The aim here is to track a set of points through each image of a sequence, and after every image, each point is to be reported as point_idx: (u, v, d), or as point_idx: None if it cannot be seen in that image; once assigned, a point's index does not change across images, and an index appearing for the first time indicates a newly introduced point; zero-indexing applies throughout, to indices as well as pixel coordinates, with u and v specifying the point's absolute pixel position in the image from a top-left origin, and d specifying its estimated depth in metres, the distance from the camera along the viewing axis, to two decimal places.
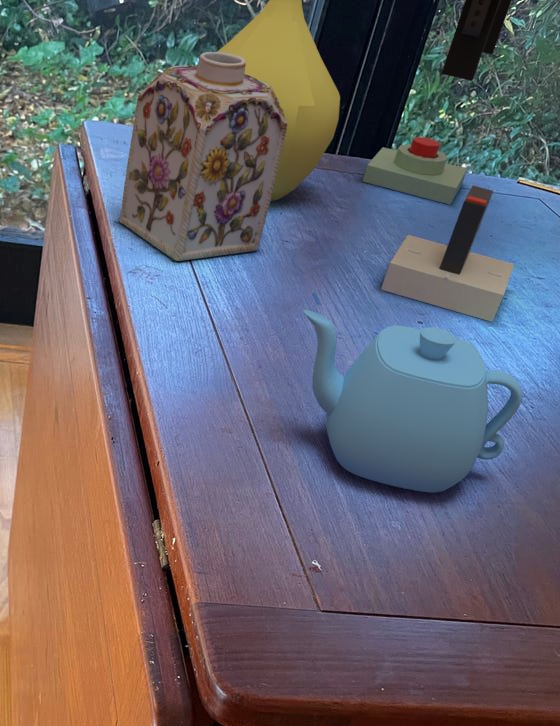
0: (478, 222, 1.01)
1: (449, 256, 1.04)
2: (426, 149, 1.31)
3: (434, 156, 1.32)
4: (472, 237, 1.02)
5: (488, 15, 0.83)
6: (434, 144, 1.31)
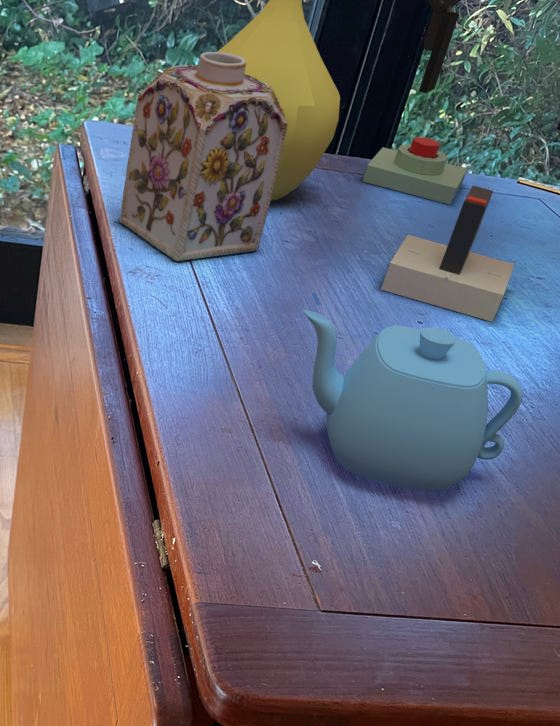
0: (478, 222, 1.01)
1: (449, 256, 1.04)
2: (426, 149, 1.31)
3: (434, 156, 1.32)
4: (472, 237, 1.02)
5: None
6: (434, 144, 1.31)
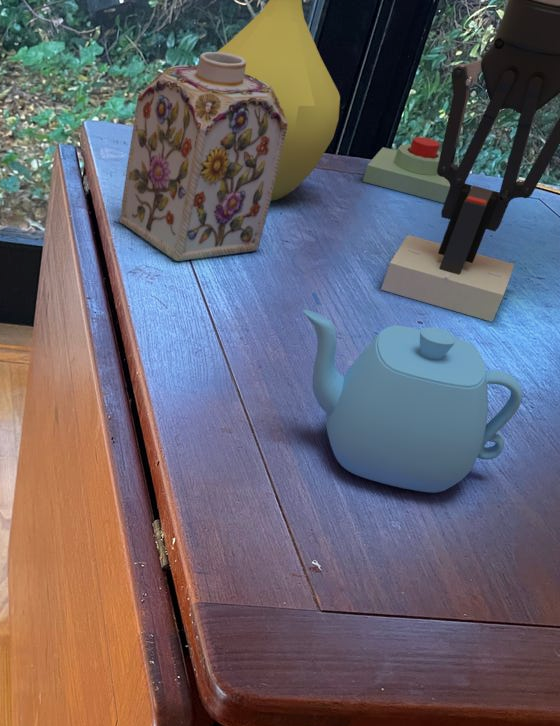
0: (478, 222, 1.01)
1: (449, 256, 1.04)
2: (426, 149, 1.31)
3: (434, 156, 1.32)
4: (472, 237, 1.02)
5: None
6: (434, 144, 1.31)
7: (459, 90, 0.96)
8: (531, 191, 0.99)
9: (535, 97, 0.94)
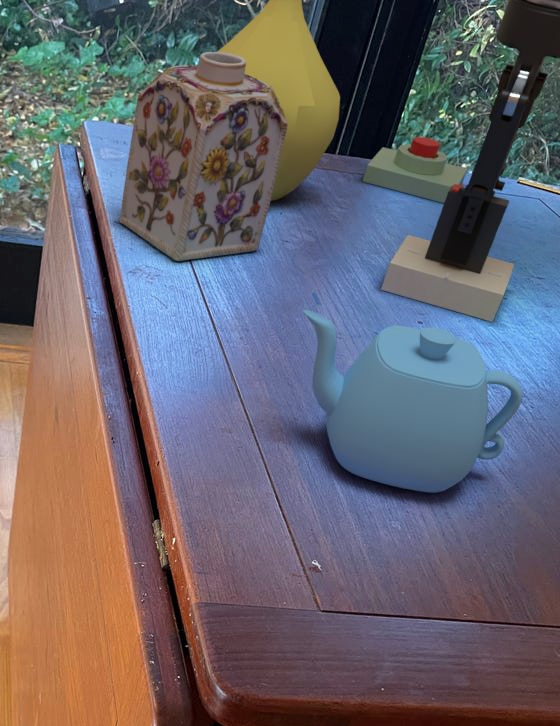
0: (443, 206, 1.03)
1: None
2: (426, 149, 1.31)
3: (434, 156, 1.32)
4: None
5: (478, 217, 1.01)
6: (434, 144, 1.31)
7: None
8: (467, 187, 0.98)
9: (498, 90, 0.95)
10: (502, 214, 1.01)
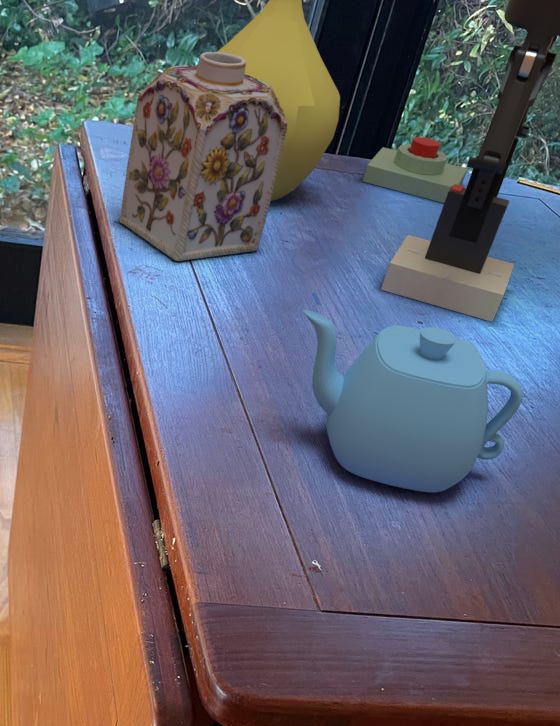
0: (443, 206, 1.03)
1: None
2: (426, 149, 1.31)
3: (434, 156, 1.32)
4: None
5: (490, 191, 0.95)
6: (434, 144, 1.31)
7: None
8: (478, 155, 0.92)
9: (506, 71, 0.94)
10: (502, 214, 1.01)
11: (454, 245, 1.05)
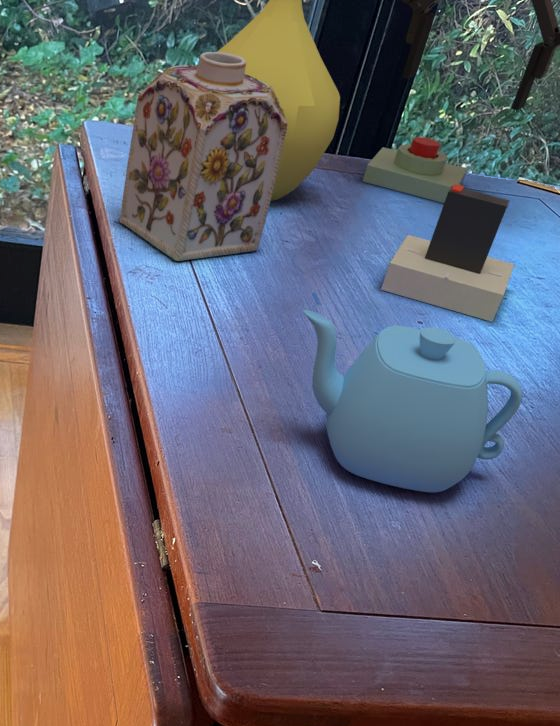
0: (443, 206, 1.03)
1: None
2: (426, 149, 1.31)
3: (434, 156, 1.32)
4: None
5: None
6: (434, 144, 1.31)
7: None
8: None
9: None
10: (502, 214, 1.01)
11: (454, 245, 1.05)
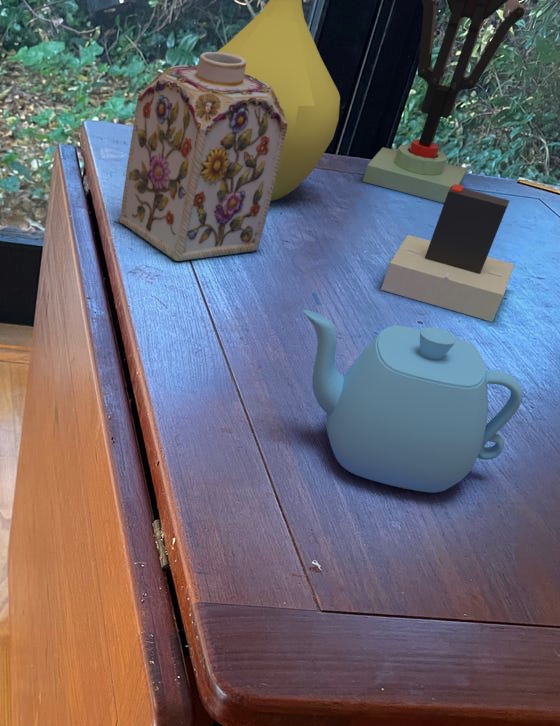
0: (443, 206, 1.03)
1: None
2: (425, 151, 1.31)
3: None
4: None
5: None
6: (433, 147, 1.32)
7: (428, 5, 1.22)
8: (474, 84, 1.25)
9: (484, 6, 1.20)
10: (502, 214, 1.01)
11: (454, 245, 1.05)
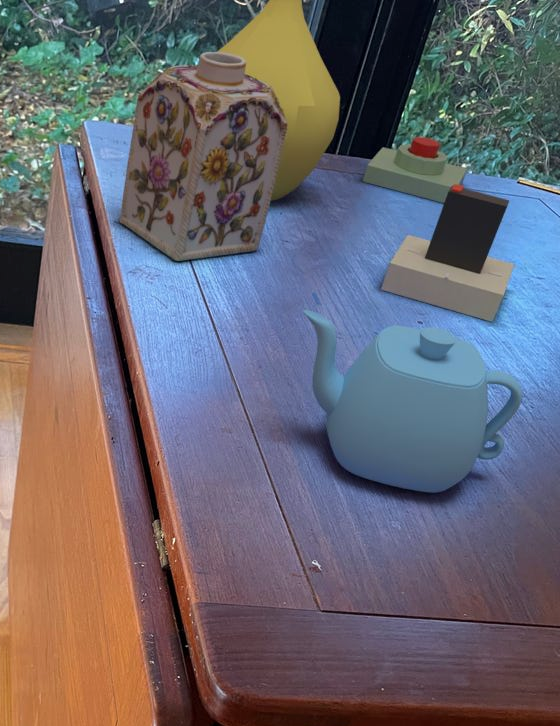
0: (443, 206, 1.03)
1: None
2: (426, 149, 1.31)
3: (434, 156, 1.32)
4: None
5: None
6: (434, 144, 1.31)
7: None
8: None
9: None
10: (502, 214, 1.01)
11: (454, 245, 1.05)
